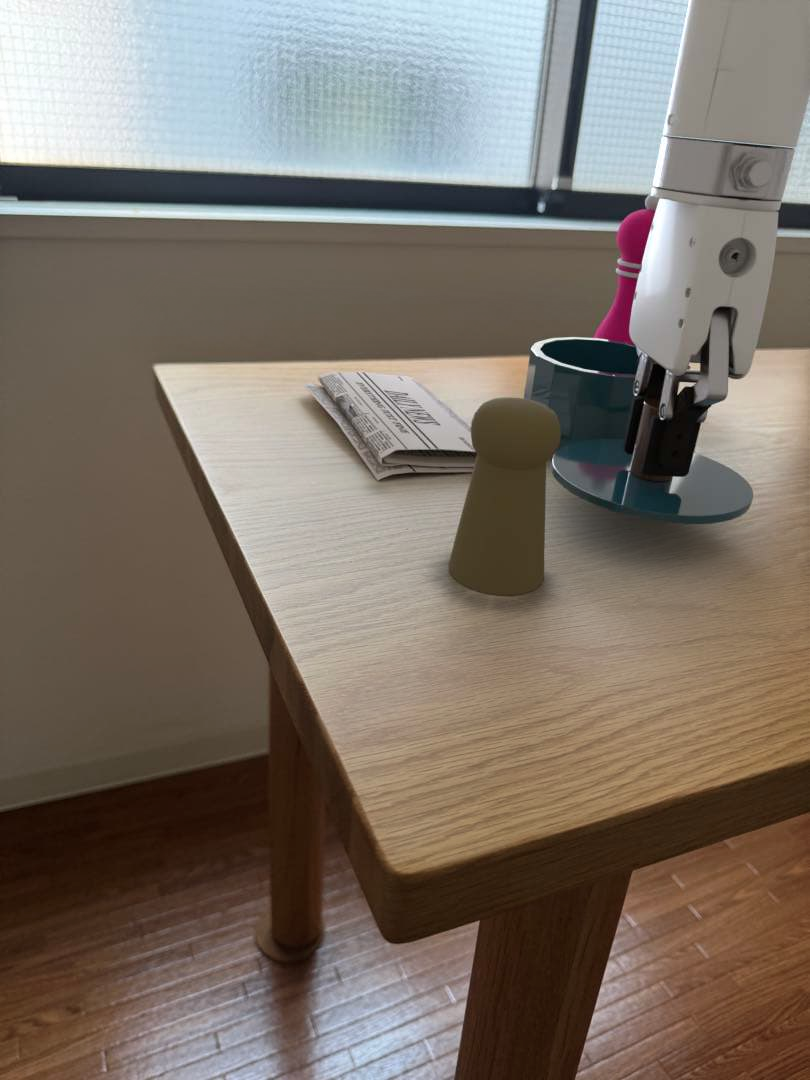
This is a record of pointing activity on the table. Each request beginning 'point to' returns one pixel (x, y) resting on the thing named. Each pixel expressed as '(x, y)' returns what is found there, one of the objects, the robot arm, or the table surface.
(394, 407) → the newspaper
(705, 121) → the robot arm
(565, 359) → the tin
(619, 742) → the table surface
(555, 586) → the table surface
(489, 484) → the olive brown pawn
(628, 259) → the pepper mill
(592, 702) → the table surface
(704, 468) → the tin lid
